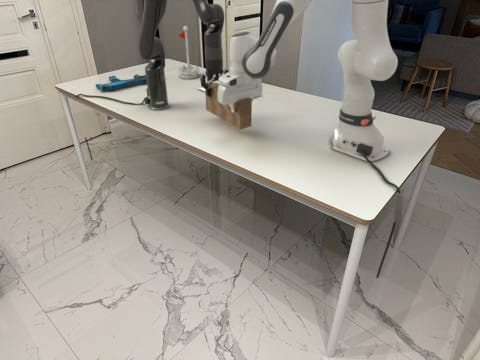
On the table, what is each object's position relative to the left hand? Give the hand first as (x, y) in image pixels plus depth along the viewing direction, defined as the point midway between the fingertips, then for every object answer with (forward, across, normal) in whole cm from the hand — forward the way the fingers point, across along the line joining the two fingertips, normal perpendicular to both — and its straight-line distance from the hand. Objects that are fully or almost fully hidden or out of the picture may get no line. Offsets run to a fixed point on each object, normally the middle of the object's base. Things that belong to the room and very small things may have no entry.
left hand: (215, 95), depth 153 cm
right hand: (+1, 0, +20) cm, 20 cm away
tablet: (+12, -27, -29) cm, 42 cm away
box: (+8, 0, +10) cm, 12 cm away
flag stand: (+12, -24, -70) cm, 75 cm away
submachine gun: (+12, +15, -81) cm, 83 cm away
